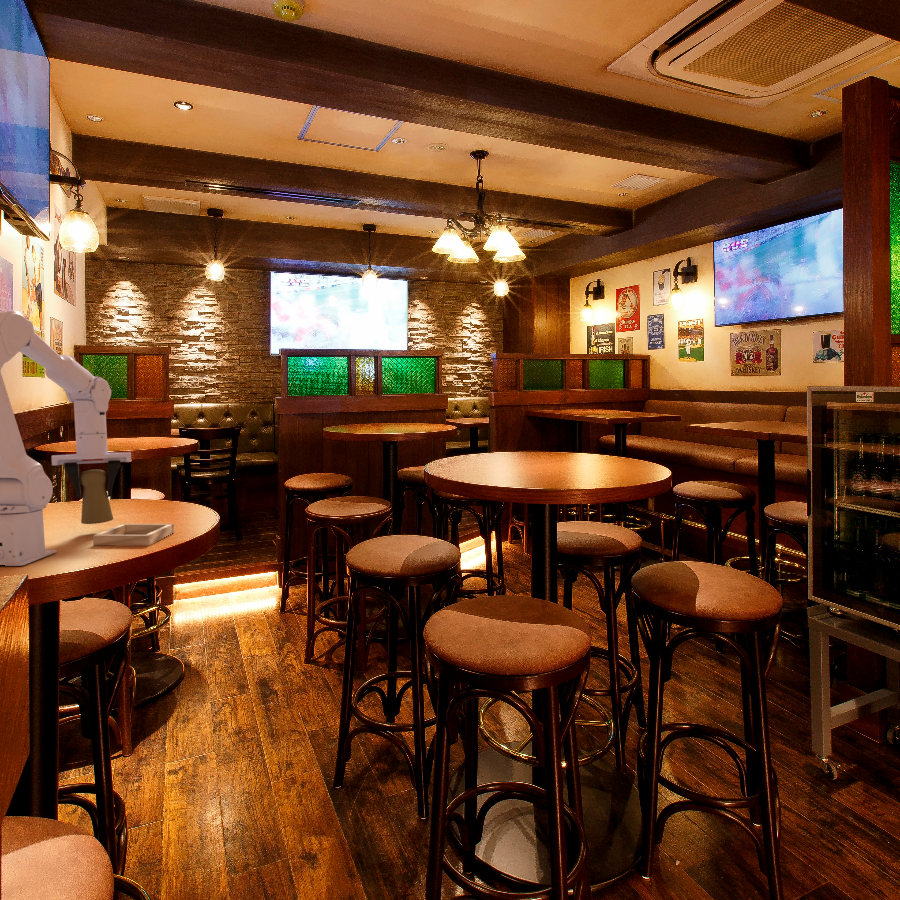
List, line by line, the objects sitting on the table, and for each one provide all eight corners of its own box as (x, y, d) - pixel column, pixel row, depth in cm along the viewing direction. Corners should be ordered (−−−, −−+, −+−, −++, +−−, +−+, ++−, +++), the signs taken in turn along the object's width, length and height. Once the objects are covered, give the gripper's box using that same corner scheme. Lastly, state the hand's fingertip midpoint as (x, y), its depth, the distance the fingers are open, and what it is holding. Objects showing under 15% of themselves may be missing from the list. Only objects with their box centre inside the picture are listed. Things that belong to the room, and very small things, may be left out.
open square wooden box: (148, 545, 122) (148, 535, 122) (93, 545, 122) (92, 535, 122) (174, 533, 133) (173, 523, 133) (123, 532, 133) (123, 523, 133)
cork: (77, 525, 129) (72, 473, 127) (85, 519, 134) (80, 469, 133) (110, 522, 130) (105, 471, 129) (116, 516, 136) (111, 467, 135)
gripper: (129, 431, 137) (132, 491, 139) (51, 433, 130) (55, 497, 132) (130, 433, 131) (133, 496, 133) (49, 435, 124) (53, 502, 125)
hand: (94, 497), depth 132 cm, fingers closed on cork, 5 cm apart
